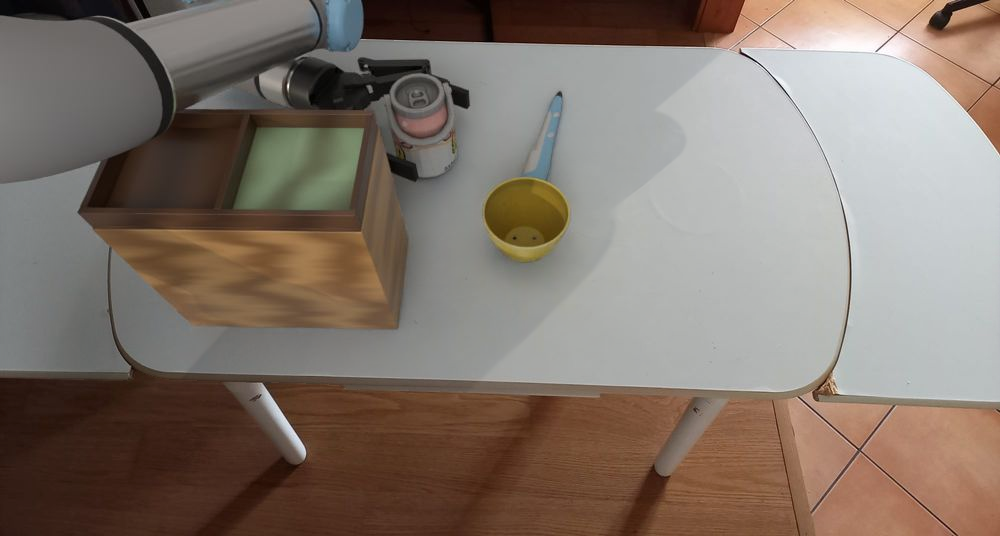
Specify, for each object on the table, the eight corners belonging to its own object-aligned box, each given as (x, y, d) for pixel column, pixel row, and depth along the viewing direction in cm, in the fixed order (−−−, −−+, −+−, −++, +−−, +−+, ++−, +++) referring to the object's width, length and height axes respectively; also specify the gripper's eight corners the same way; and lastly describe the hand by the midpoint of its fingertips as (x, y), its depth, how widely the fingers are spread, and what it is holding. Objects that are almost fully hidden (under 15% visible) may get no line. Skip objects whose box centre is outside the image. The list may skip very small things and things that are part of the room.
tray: (93, 228, 54) (76, 212, 52) (137, 125, 60) (124, 108, 58) (360, 231, 54) (354, 215, 52) (378, 127, 60) (373, 109, 58)
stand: (192, 326, 71) (91, 229, 54) (219, 237, 78) (137, 125, 60) (398, 329, 71) (362, 232, 54) (408, 239, 77) (379, 127, 60)
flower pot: (564, 211, 79) (568, 176, 73) (567, 280, 74) (572, 248, 68) (485, 211, 79) (483, 176, 73) (483, 280, 74) (481, 248, 68)
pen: (541, 200, 80) (542, 187, 77) (517, 196, 80) (517, 182, 78) (569, 96, 89) (571, 81, 87) (548, 93, 90) (549, 77, 87)
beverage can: (467, 180, 82) (460, 115, 71) (404, 194, 81) (389, 130, 70) (451, 130, 86) (443, 62, 76) (392, 142, 85) (376, 75, 75)
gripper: (360, 49, 91) (488, 93, 86) (257, 167, 80) (396, 225, 75) (349, 5, 85) (486, 49, 80) (234, 126, 74) (385, 187, 69)
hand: (443, 135), depth 77 cm, fingers open, 13 cm apart
